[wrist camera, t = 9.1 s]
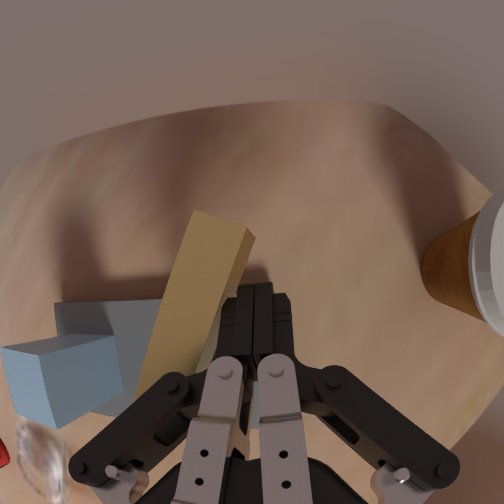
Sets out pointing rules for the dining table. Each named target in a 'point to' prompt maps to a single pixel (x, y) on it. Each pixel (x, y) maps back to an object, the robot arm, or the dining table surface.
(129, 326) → the plate
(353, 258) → the dining table surface
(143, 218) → the dining table surface
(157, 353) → the golden lever handle
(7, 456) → the canned food
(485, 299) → the disposable coffee cup
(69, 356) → the light blue block
